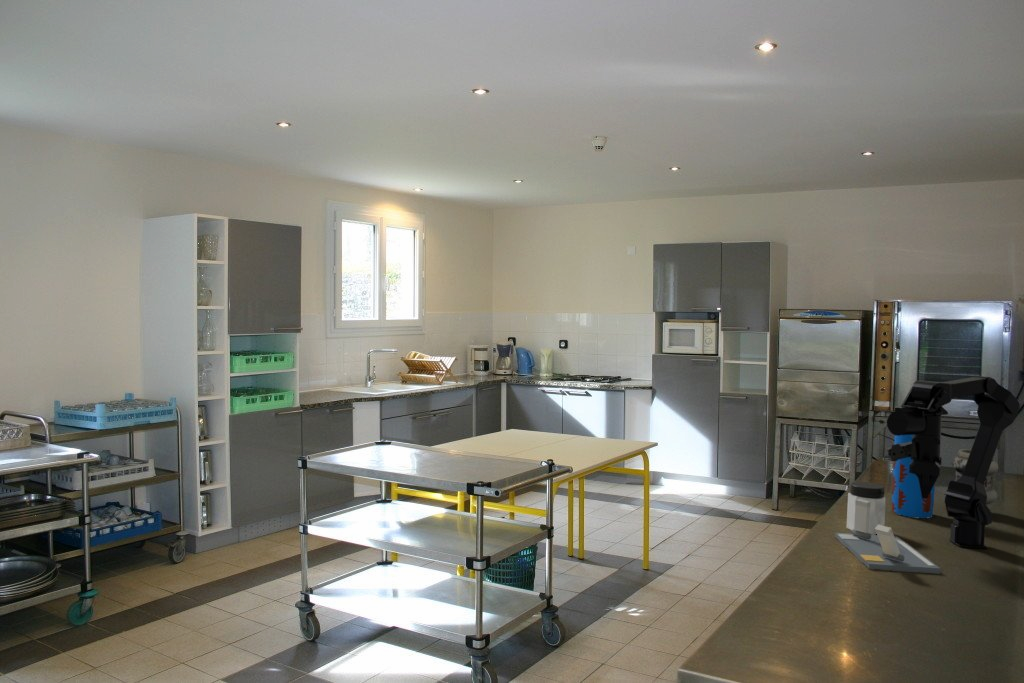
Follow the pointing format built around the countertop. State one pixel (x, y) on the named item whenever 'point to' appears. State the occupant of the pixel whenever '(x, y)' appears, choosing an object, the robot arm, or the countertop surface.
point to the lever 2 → (888, 543)
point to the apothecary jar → (960, 465)
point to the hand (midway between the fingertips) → (924, 498)
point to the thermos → (909, 488)
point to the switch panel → (873, 558)
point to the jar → (877, 506)
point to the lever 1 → (862, 519)
